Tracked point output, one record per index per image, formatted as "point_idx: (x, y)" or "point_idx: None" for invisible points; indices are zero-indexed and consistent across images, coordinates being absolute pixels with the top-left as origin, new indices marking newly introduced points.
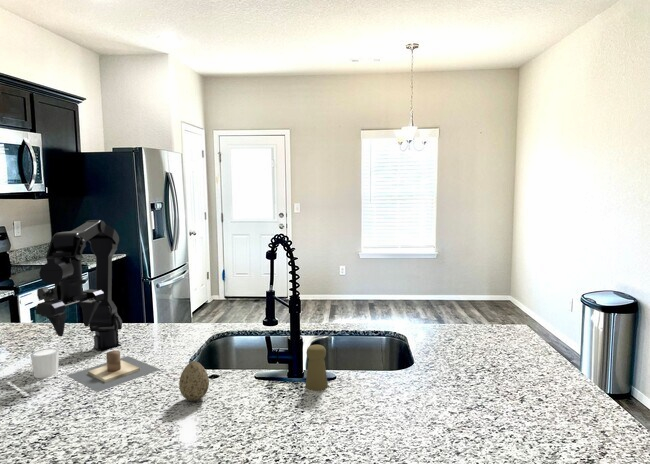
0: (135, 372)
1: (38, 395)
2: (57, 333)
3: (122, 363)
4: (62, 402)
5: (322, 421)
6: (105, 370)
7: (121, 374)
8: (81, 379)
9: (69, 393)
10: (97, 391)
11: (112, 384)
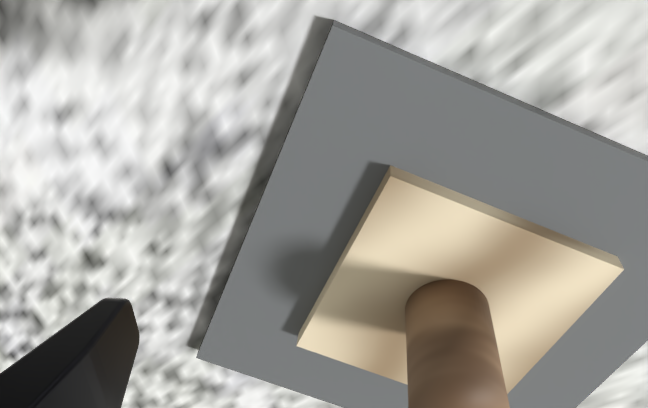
0: None
1: (42, 69)
2: (72, 331)
3: (556, 303)
4: (63, 260)
5: None
6: (423, 273)
7: (385, 376)
8: (296, 188)
9: (148, 223)
10: (200, 354)
11: (290, 371)
